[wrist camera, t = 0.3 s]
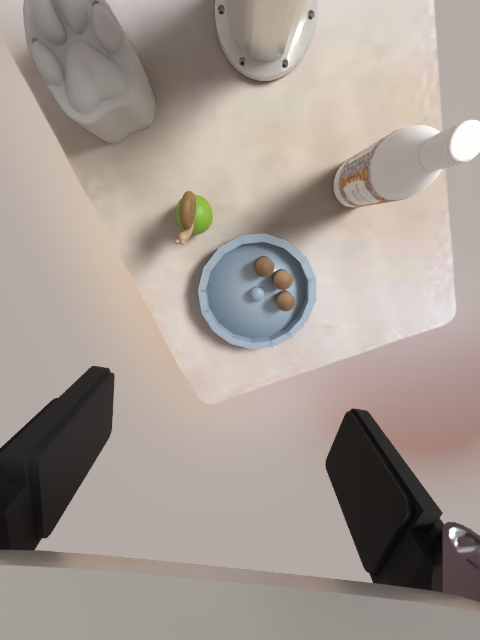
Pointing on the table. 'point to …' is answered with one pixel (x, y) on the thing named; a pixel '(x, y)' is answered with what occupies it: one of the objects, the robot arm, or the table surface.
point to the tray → (255, 292)
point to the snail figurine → (192, 216)
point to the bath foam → (404, 163)
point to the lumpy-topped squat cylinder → (89, 66)
